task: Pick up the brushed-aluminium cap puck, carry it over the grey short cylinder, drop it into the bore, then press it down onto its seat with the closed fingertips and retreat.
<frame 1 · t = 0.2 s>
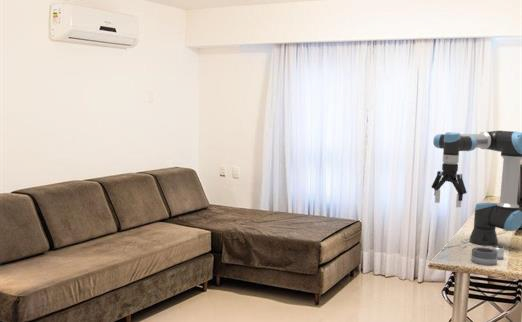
hand: (447, 204, 295), 27 cm above the table, fingers open, 13 cm apart
cap: (497, 258, 301), on the table
grey short cylinder: (483, 262, 292), on the table
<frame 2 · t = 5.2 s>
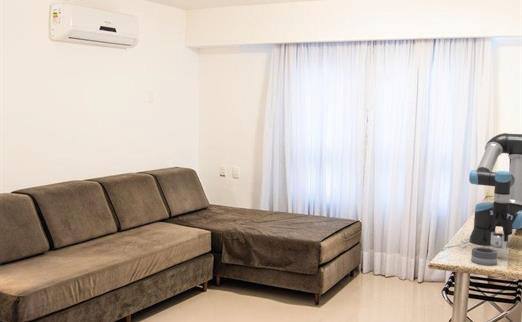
hand: (498, 245, 301), 6 cm above the table, fingers closed on cap, 6 cm apart
cap: (498, 246, 301), point 6 cm above the table, touching gripper
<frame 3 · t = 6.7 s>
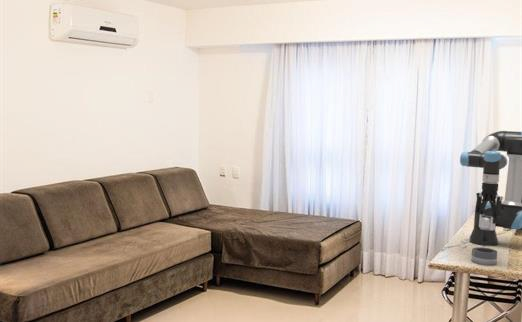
hand: (486, 228, 291), 17 cm above the table, fingers closed on cap, 6 cm apart
cap: (486, 229, 291), point 17 cm above the table, touching gripper
when the fingers open (7 cm above the table, at t = 8.1 s): cap drops 4 cm, resting on grey short cylinder.
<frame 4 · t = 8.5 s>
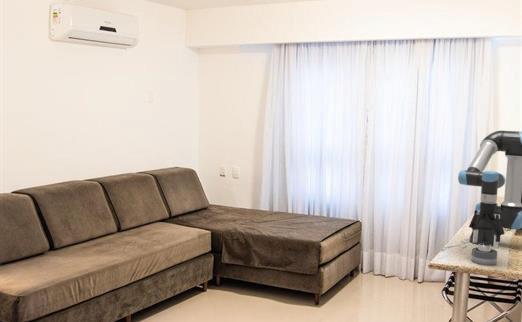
hand: (485, 245, 292), 9 cm above the table, fingers open, 11 cm apart
cap: (484, 256, 292), point 3 cm above the table, touching grey short cylinder
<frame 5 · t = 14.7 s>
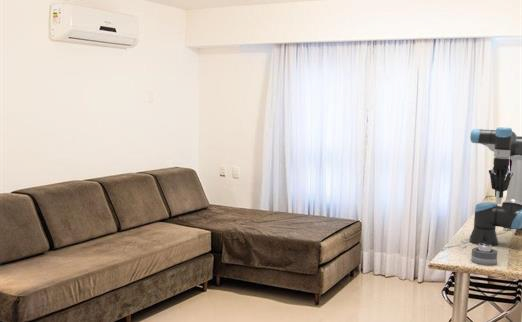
hand: (498, 203, 298), 28 cm above the table, fingers closed
nothing on the table moved.
at the end: cap 0.1 cm off-centre on the grey short cylinder, point 3.0 cm above the grey short cylinder's base; cap tilted 0°; the gripper is holding nothing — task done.
